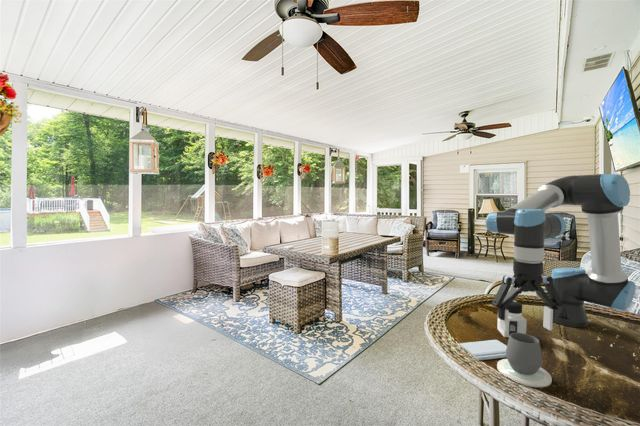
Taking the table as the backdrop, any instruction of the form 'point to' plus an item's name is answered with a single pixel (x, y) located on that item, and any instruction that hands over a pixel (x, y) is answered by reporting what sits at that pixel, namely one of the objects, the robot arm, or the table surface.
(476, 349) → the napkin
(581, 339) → the table surface
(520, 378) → the saucer
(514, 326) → the container
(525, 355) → the cup
